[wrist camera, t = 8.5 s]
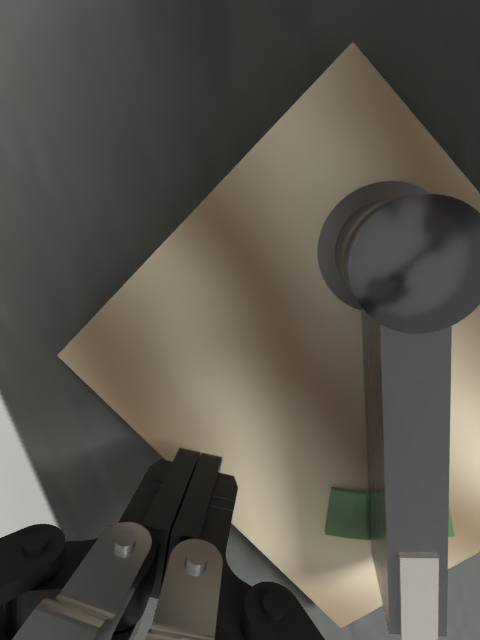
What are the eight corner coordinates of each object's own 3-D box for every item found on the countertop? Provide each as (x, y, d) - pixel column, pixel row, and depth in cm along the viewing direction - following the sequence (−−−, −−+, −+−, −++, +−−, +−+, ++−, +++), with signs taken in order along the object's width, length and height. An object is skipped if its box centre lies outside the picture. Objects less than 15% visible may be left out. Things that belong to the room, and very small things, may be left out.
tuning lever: (332, 205, 12) (347, 203, 8) (440, 192, 11) (501, 184, 8) (351, 551, 15) (367, 650, 12) (437, 552, 14) (480, 655, 11)
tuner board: (346, 60, 12) (353, 38, 11) (645, 414, 14) (691, 441, 12) (77, 342, 16) (54, 357, 15) (337, 594, 18) (341, 633, 16)
